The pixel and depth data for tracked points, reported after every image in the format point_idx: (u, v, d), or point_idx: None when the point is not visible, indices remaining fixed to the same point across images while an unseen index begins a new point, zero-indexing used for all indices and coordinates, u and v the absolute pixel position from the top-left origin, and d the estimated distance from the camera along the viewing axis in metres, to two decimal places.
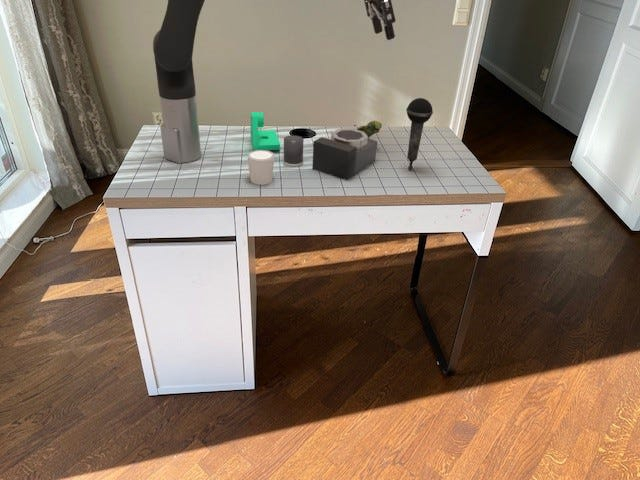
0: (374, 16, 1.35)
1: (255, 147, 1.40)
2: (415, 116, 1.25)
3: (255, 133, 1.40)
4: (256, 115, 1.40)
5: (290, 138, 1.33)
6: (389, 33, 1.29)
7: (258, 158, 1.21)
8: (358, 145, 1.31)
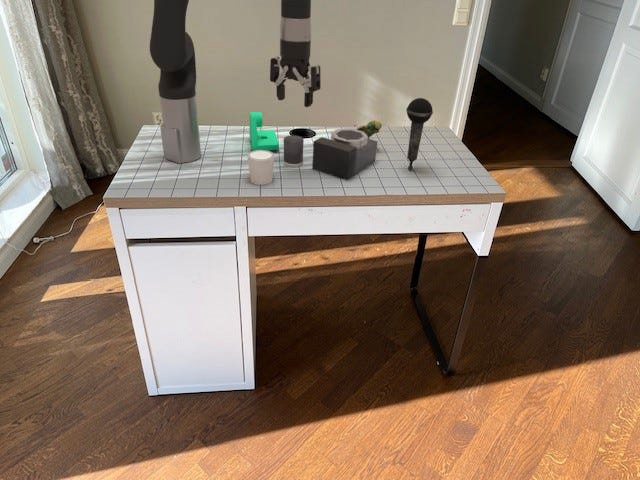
0: (281, 82, 1.27)
1: (254, 147, 1.40)
2: (415, 116, 1.25)
3: (254, 133, 1.40)
4: (255, 115, 1.40)
5: (290, 138, 1.33)
6: (310, 100, 1.24)
7: (258, 158, 1.21)
8: (358, 145, 1.31)
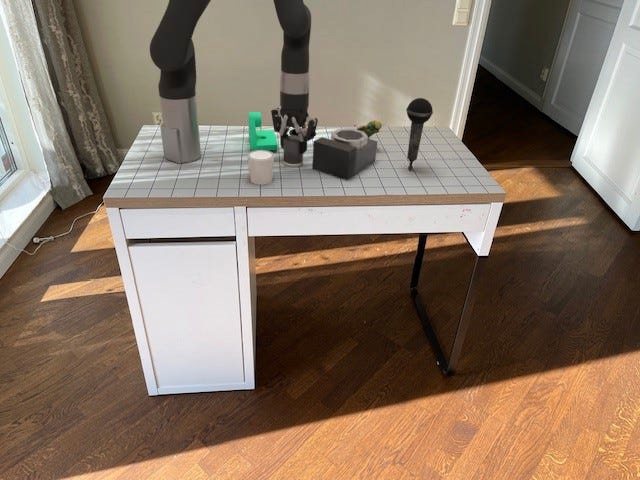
0: (284, 132, 1.33)
1: (252, 147, 1.40)
2: (415, 116, 1.25)
3: (253, 133, 1.40)
4: (254, 115, 1.40)
5: (290, 138, 1.33)
6: (304, 148, 1.32)
7: (258, 158, 1.21)
8: (358, 145, 1.31)
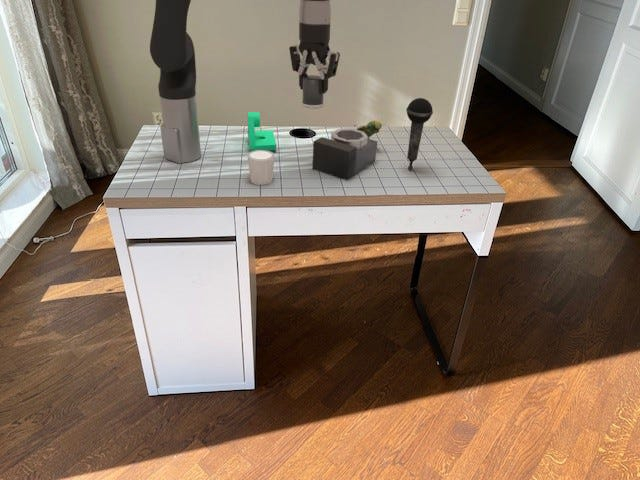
0: (303, 71, 1.25)
1: (251, 147, 1.40)
2: (415, 116, 1.25)
3: (251, 133, 1.40)
4: (253, 115, 1.40)
5: (309, 77, 1.25)
6: (325, 87, 1.23)
7: (258, 158, 1.21)
8: (358, 145, 1.31)
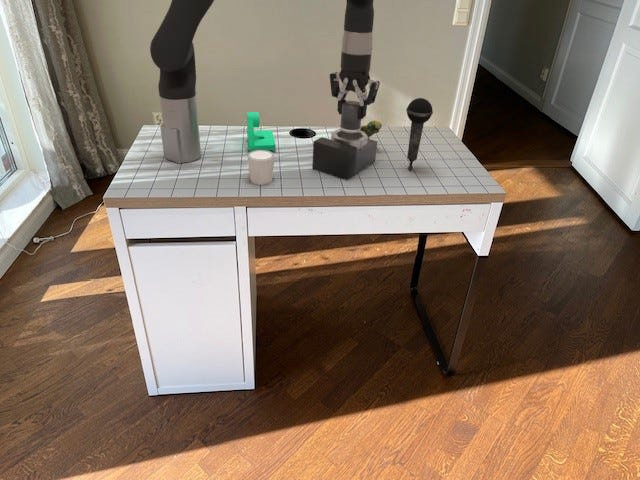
0: (342, 97, 1.30)
1: (250, 147, 1.40)
2: (415, 116, 1.25)
3: (251, 133, 1.40)
4: (252, 115, 1.40)
5: (348, 103, 1.29)
6: (364, 113, 1.28)
7: (258, 158, 1.21)
8: (358, 145, 1.31)
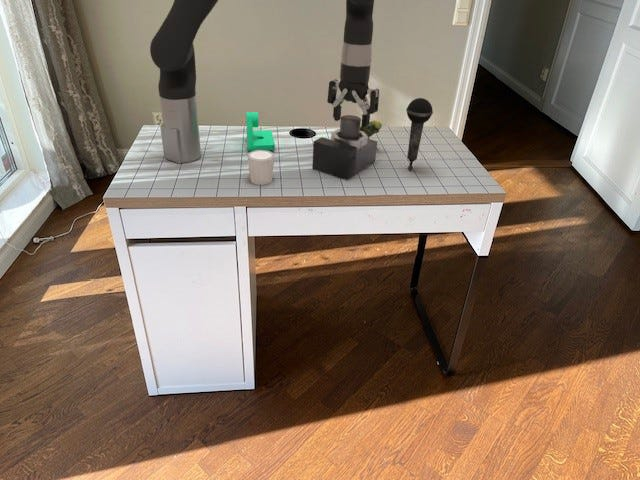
0: None
1: (249, 147, 1.40)
2: (415, 116, 1.25)
3: (250, 133, 1.40)
4: (251, 115, 1.40)
5: (347, 117, 1.32)
6: (367, 122, 1.28)
7: (258, 158, 1.21)
8: (358, 145, 1.31)
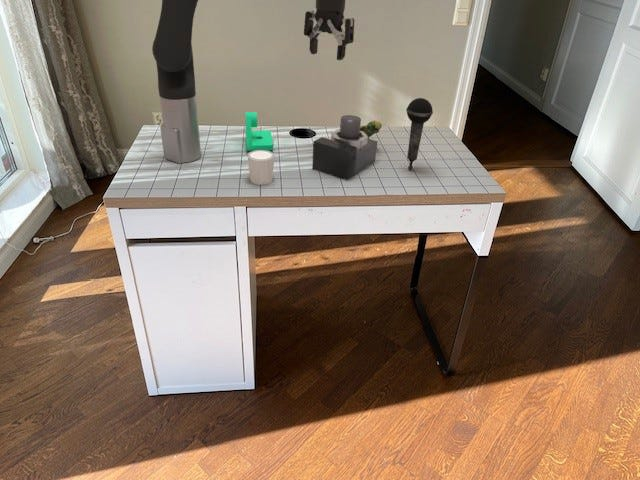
0: None
1: (248, 147, 1.40)
2: (415, 116, 1.25)
3: (248, 133, 1.39)
4: (250, 115, 1.40)
5: (347, 117, 1.32)
6: (342, 53, 1.28)
7: (258, 158, 1.21)
8: (358, 145, 1.31)
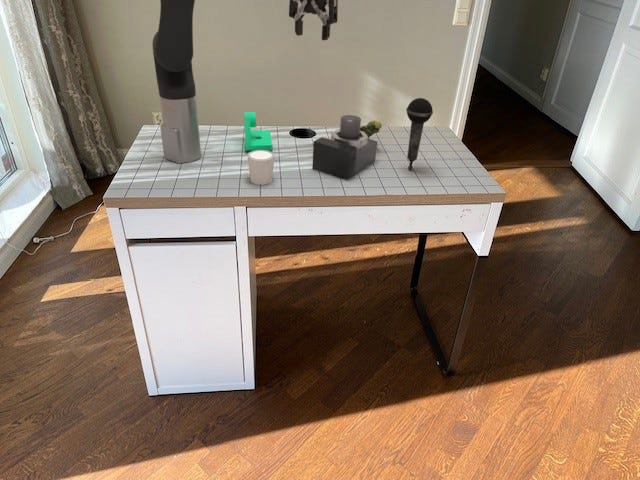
0: None
1: (247, 147, 1.40)
2: (415, 116, 1.25)
3: (247, 133, 1.39)
4: (249, 115, 1.40)
5: (347, 117, 1.32)
6: (327, 33, 1.31)
7: (258, 158, 1.21)
8: (358, 145, 1.31)
